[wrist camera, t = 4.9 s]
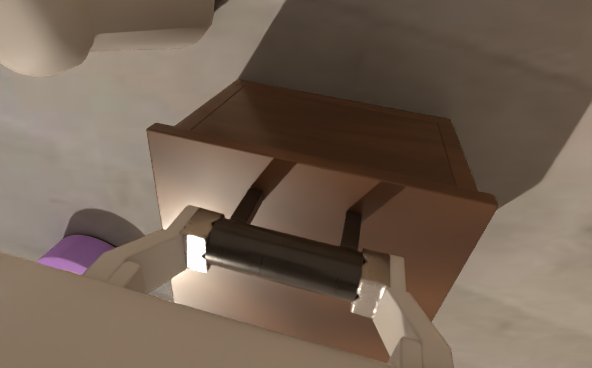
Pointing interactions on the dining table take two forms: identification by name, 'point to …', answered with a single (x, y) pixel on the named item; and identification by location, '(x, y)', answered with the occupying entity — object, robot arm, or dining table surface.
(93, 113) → the dining table surface
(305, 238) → the lid
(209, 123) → the chest
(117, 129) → the dining table surface
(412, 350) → the robot arm
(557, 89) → the dining table surface
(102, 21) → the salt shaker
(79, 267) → the tape roll
